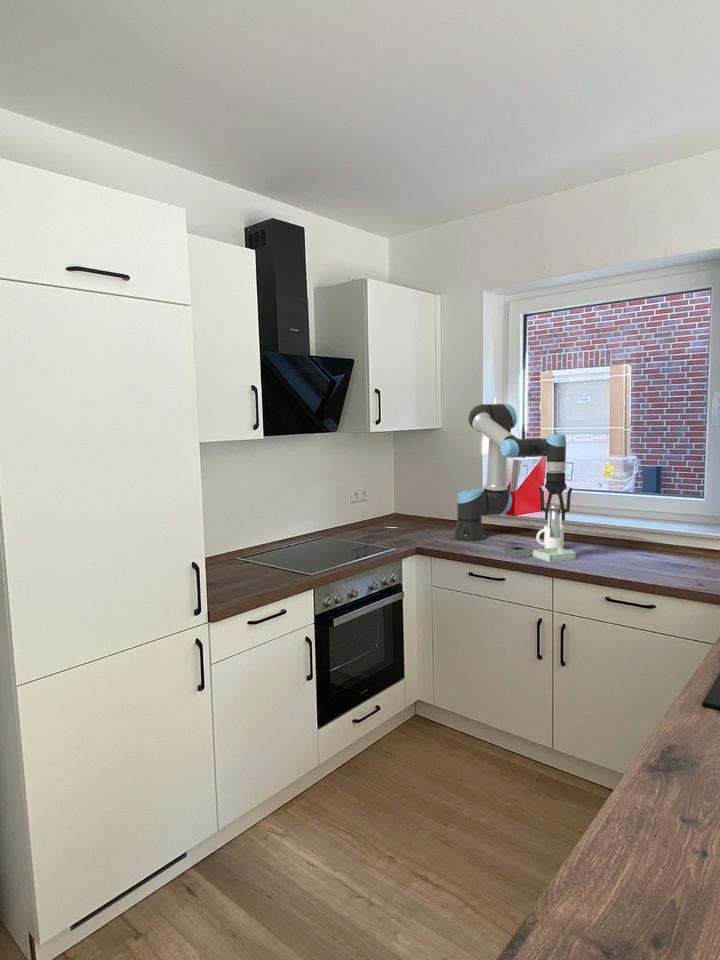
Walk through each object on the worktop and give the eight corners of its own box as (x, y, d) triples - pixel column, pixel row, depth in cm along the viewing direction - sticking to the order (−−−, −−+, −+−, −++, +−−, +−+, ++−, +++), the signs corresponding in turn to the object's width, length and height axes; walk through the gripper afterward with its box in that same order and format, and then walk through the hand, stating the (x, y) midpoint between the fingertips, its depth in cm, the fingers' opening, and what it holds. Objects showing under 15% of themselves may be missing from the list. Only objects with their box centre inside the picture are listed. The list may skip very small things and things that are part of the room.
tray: (532, 556, 260) (533, 550, 260) (557, 553, 265) (557, 547, 265) (550, 562, 250) (550, 555, 250) (575, 558, 255) (575, 552, 254)
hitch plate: (504, 554, 265) (504, 547, 264) (519, 552, 268) (519, 545, 267) (515, 558, 257) (515, 551, 257) (531, 556, 260) (531, 549, 260)
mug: (539, 551, 270) (539, 527, 269) (533, 547, 278) (533, 524, 277) (566, 550, 270) (566, 527, 269) (559, 546, 279) (559, 524, 278)
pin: (548, 535, 260) (548, 504, 259) (562, 536, 258) (562, 504, 256) (546, 537, 255) (547, 506, 253) (561, 538, 253) (561, 506, 251)
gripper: (533, 472, 253) (532, 528, 256) (577, 473, 247) (576, 530, 249) (535, 470, 260) (534, 525, 263) (578, 471, 254) (577, 527, 256)
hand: (554, 528), depth 256 cm, fingers closed on pin, 4 cm apart
